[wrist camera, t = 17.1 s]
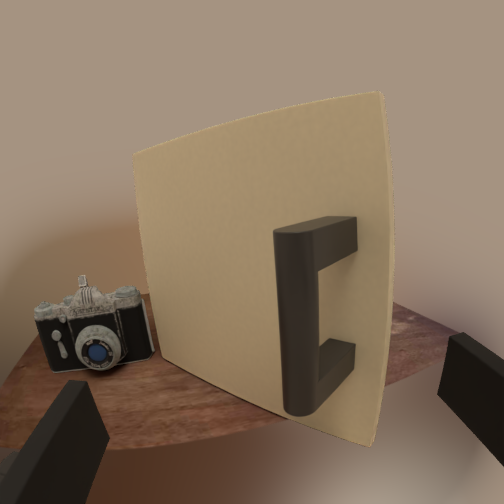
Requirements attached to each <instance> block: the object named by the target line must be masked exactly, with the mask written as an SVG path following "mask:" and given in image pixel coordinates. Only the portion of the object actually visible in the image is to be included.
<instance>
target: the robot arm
mask: <svg viewBox="0 0 504 504" xmlns="http://www.w3.org/2000/svg"><path fill="white" fill-rule="evenodd" d="M437 395H438V396H439V397H440V398H441V399H442V400H443V401H444V402H445V403H446V404H447V405H448V406H449V407H450V408H451V409H452V410H453V412H454V413H455V414H456V415H457V416H458V417H459V418H460V419H461V420H462V421H463V422H464V423H465V424H466V426H467V427H468V428H469V429H470V430H471V431H472V432H473V433H474V434H475V435H476V436H477V438H479V440H480V441H481V442H482V443H483V444H484V445H485V446H486V447H487V449H488V450H489V451H490V452H491V453H492V454H493V455H494V456H495V457H496V459H497V460H498V461H499V462H500V463H501V464H502V465H503V466H504V360H503V359H502V358H500V357H499V356H497V355H496V354H495V353H493V352H492V351H490V350H489V349H487V348H486V347H484V346H483V345H482V344H480V343H479V342H477V341H476V340H474V339H473V338H471V337H470V336H468V335H467V334H466V333H464V332H462V333H459V334H456V335H452V336H449V341H448V347H447V352H446V357H445V362H444V368H443V372H442V376H441V381H440V385H439V389H438V393H437ZM109 439H110V437H109V435H108V433H107V430H106V428H105V426H104V423H103V421H102V419H101V416H100V414H99V412H98V409H97V407H96V404H95V402H94V399H93V396H92V394H91V391H90V388H89V386H88V383H87V381H76V380H69V381H68V382H67V383H66V385H65V386H64V388H63V389H62V390H61V392H60V393H59V395H58V396H57V397H56V399H55V400H54V402H53V403H52V405H51V406H50V407H49V409H48V410H47V412H46V413H45V415H44V416H43V418H42V419H41V420H40V422H39V423H38V425H37V426H36V428H35V429H34V431H33V432H32V434H31V435H30V437H29V438H28V440H27V441H26V443H25V444H24V446H23V448H22V449H21V451H20V452H19V453H18V452H13V453H11V454H10V455H9V456H7V457H6V458H5V459H4V460H3V461H2V462H1V464H0V504H85V503H86V500H87V497H88V494H89V491H90V489H91V486H92V483H93V480H94V478H95V475H96V472H97V470H98V467H99V465H100V462H101V459H102V457H103V454H104V452H105V449H106V447H107V444H108V442H109Z"/></svg>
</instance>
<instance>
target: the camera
mask: <svg viewBox="0 0 504 504" xmlns="http://www.w3.org/2000/svg"><path fill="white" fill-rule="evenodd" d="M63 300H64V302H62V303H59V304H56V305H54V304H52V303H47V302H45V301H44V302H41V304H40V305H38V306H37V307H36V308H35V309H34V311H35V315H34V318H35V322H36V325H37V329H38V332H39V335H40V339H41V342H42V345H43V348H44V351H45V354H46V357H47V360H48V362H49V365H50V368H51V370H52V372H54V373H58V372H67V371H76V370H84V369H94V370H107V369H110V368H112V367H113V366H115V365H119V364H126V363H132V362H138V361H144V360H148V359H149V358H150V357H151V356H152V354H153V353H152V352H153V351H154V346H153V342H152V337H151V333H150V328H149V323H148V319H147V314H146V308H145V303H144V299H141V296H140V291H139V290H136V287H135V286H125V287H121V288H118V289H117V290H116V291H115V292H113V293H106V294H102V293H101V292H100V291H99V290H98V288H97V287H96V286H91V287H85V288H80V289H79V290H78V291H77V292H76V293H75V295H74V296H73V295H70V296H66V297H64V298H63Z"/></svg>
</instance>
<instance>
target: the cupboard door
mask: <svg viewBox="0 0 504 504" xmlns="http://www.w3.org/2000/svg"><path fill="white" fill-rule="evenodd" d="M132 156H133V169H134V180H135V192H136V201H137V210H138V219H139V227H140V235H141V242H142V249H143V257H144V263H145V270H146V276H147V282H148V288H149V294H150V299H151V305H152V310H153V315H154V320H155V325H156V330H157V335H158V340H159V344H160V349H161V353H162V357H163V358H164V359H166V360H168V361H170V362H171V363H173V364H175V365H177V366H179V367H180V368H182V369H184V370H186V371H188V372H190V373H192V374H193V375H195V376H197V377H199V378H201V379H203V380H205V381H207V382H209V383H211V384H213V385H215V386H217V387H219V388H221V389H223V390H225V391H227V392H229V393H231V394H233V395H235V396H238V397H240V398H242V399H244V400H246V401H248V402H251V403H253V404H255V405H257V406H259V407H262V408H264V409H266V410H269V411H271V412H273V413H276V414H278V415H280V416H283V417H285V418H288V419H290V420H293V421H295V422H298V423H300V424H303V425H306V426H308V427H311V428H313V429H316V430H319V431H321V432H324V433H327V434H330V435H333V436H335V437H338V438H341V439H344V440H347V441H350V442H353V443H356V444H359V445H363V446H366V447H371V445H372V444H373V442H374V440H375V436H376V431H377V426H378V421H379V416H380V409H381V404H382V398H383V392H384V385H385V378H386V370H387V362H388V354H389V344H390V334H391V322H392V308H393V290H394V260H395V227H394V226H395V223H394V193H393V175H392V161H391V150H390V140H389V130H388V122H387V114H386V106H385V100H384V95H383V94H382V93H380V92H379V91H374V92H367V93H360V94H354V95H347V96H341V97H335V98H330V99H325V100H319V101H314V102H309V103H304V104H299V105H295V106H290V107H286V108H281V109H277V110H273V111H269V112H265V113H260V114H256V115H253V116H249V117H245V118H241V119H238V120H234V121H230V122H227V123H223V124H220V125H217V126H213V127H210V128H207V129H203V130H200V131H197V132H194V133H191V134H188V135H185V136H181V137H178V138H176V139H173V140H170V141H167V142H164V143H161V144H158V145H156V146H153V147H150V148H147V149H144V150H142V151H139V152H136V153H134V154H133V155H132Z"/></svg>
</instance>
